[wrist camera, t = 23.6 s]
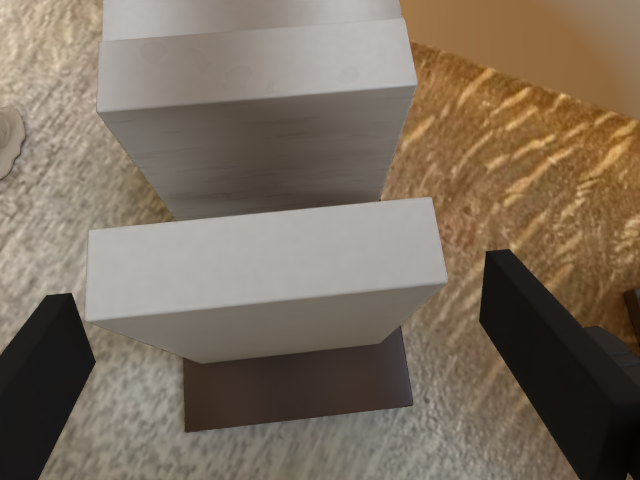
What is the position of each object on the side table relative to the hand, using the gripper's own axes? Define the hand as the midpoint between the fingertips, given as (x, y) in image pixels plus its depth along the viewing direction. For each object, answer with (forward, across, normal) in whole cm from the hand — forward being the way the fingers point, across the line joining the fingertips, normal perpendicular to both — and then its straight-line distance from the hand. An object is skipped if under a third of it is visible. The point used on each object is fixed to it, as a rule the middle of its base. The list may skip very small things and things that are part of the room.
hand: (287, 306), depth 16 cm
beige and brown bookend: (+10, 0, -5) cm, 11 cm away
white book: (+7, 0, -6) cm, 9 cm away
